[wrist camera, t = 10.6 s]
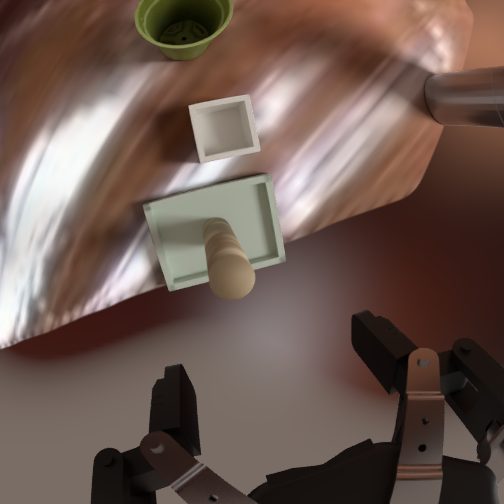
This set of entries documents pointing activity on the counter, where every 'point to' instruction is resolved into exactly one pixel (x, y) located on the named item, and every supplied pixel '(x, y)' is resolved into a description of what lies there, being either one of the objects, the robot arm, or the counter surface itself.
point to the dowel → (226, 261)
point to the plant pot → (182, 24)
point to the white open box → (224, 128)
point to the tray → (205, 208)
